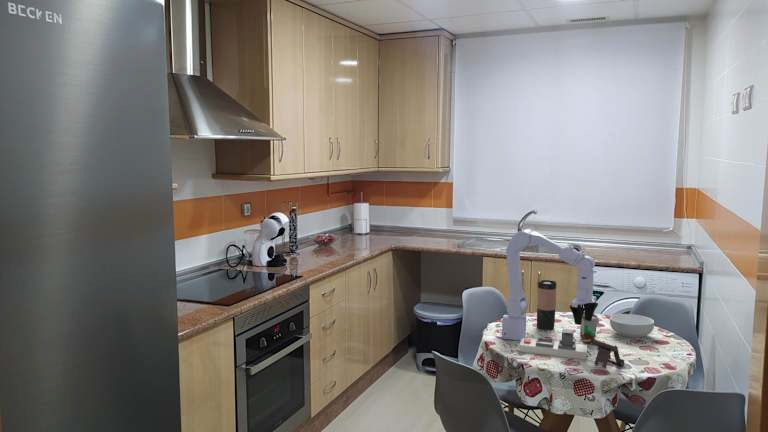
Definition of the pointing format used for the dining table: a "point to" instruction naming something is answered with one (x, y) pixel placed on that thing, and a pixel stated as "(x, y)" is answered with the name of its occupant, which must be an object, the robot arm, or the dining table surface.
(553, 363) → the dining table surface
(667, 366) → the dining table surface
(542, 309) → the travel mug
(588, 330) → the food container
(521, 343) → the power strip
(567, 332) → the block
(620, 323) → the cereal bowl
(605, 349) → the portable electronic device stand
